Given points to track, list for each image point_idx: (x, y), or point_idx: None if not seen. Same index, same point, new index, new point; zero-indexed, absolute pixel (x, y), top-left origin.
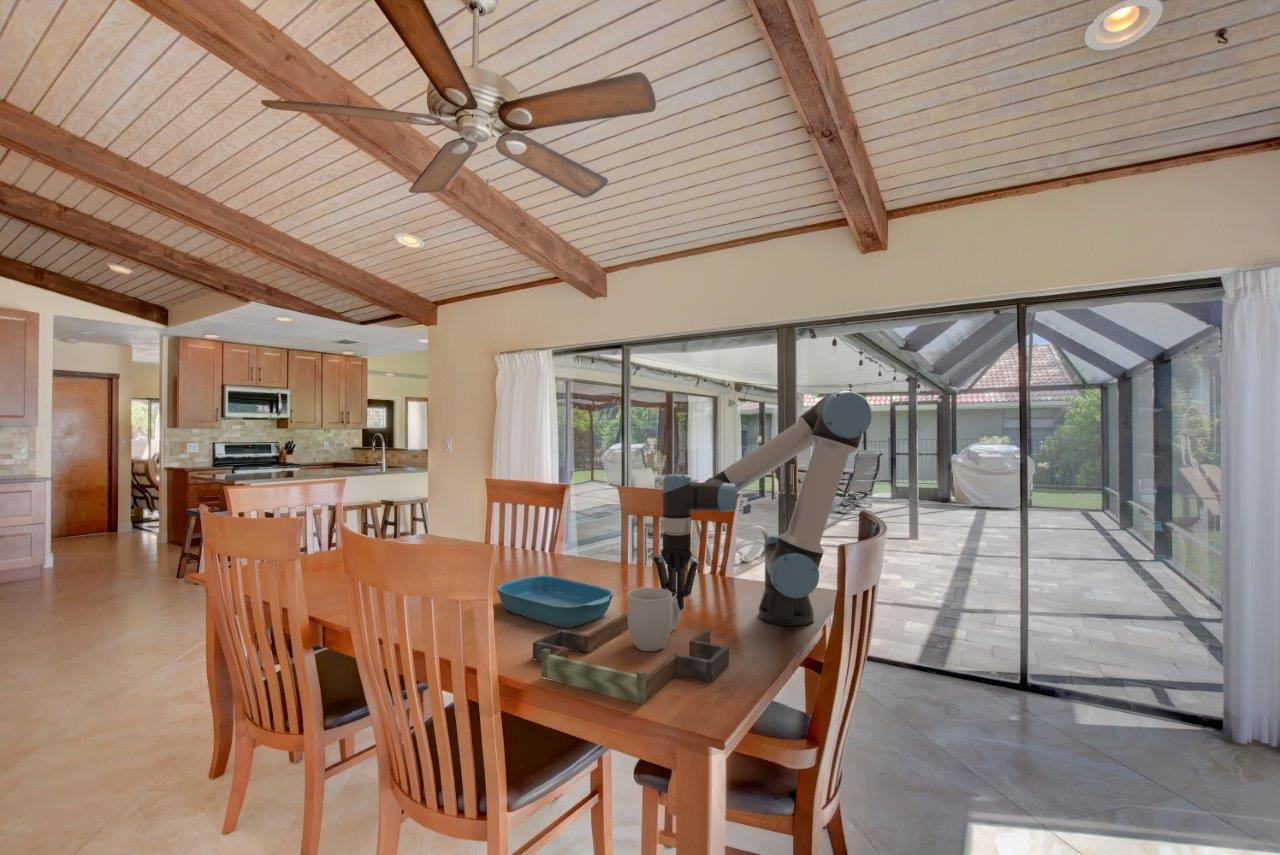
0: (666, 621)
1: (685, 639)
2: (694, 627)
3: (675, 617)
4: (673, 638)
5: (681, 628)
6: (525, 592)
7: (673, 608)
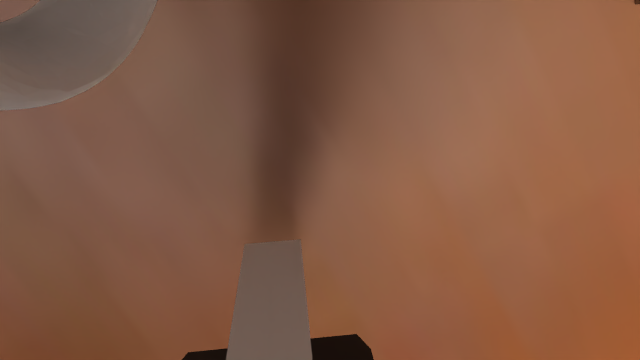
0: None
1: None
2: (172, 355)
3: (31, 20)
4: (165, 36)
5: None
6: None
7: (279, 325)
